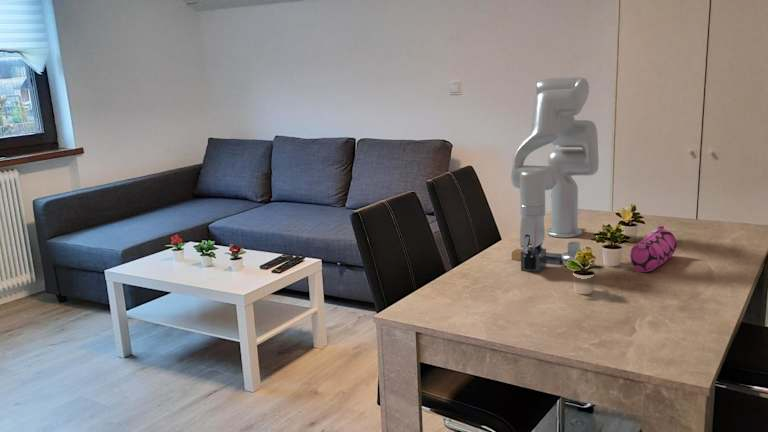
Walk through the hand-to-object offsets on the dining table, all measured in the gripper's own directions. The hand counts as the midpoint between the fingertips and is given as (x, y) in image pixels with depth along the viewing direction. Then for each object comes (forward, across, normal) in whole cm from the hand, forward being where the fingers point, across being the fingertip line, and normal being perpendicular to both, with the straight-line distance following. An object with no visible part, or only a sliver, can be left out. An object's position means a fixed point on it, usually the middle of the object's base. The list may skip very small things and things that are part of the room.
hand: (533, 265), depth 207 cm
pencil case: (+1, -18, +32) cm, 37 cm away
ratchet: (+1, -9, +2) cm, 9 cm away
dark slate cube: (+1, 0, 0) cm, 1 cm away
